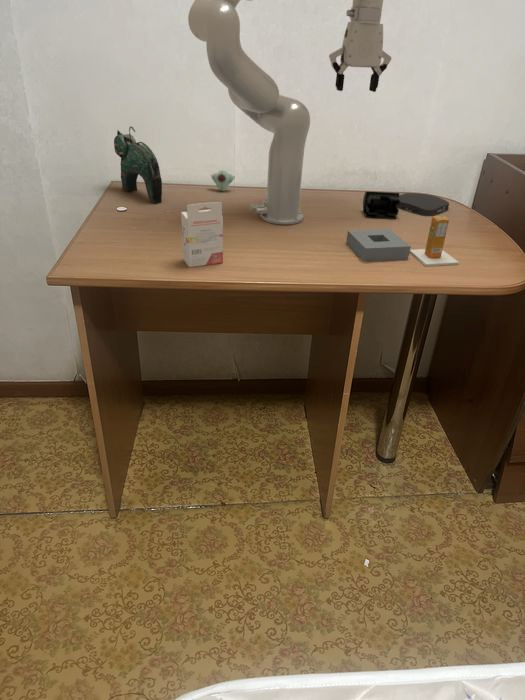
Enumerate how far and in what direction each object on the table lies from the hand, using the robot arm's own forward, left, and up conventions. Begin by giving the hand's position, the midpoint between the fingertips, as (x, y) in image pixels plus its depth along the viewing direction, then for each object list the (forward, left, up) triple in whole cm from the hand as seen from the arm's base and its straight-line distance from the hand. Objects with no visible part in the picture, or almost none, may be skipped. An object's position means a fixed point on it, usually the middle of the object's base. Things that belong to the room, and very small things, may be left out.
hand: (356, 90), depth 141 cm
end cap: (+11, -5, -34) cm, 36 cm away
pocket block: (-2, -32, -33) cm, 46 cm away
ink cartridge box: (-47, -33, -34) cm, 66 cm away
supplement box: (+11, -38, -33) cm, 51 cm away
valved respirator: (-33, +22, -34) cm, 52 cm away
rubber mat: (+11, -38, -33) cm, 52 cm away
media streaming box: (+28, +1, -34) cm, 44 cm away
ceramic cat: (-59, +19, -34) cm, 71 cm away
